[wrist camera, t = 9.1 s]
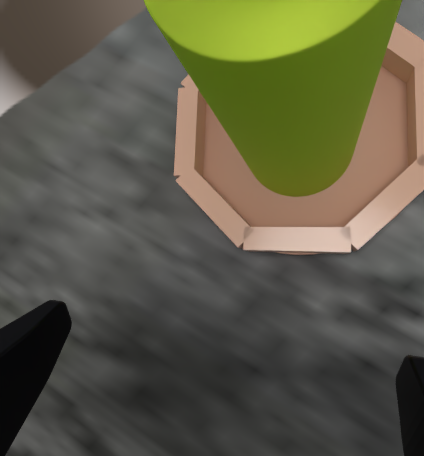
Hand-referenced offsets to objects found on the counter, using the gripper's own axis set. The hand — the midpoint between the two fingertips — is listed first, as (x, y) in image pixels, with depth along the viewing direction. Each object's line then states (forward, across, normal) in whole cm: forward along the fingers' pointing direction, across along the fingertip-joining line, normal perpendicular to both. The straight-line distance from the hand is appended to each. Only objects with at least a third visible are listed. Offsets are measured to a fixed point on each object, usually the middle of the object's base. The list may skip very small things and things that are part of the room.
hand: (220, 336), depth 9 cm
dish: (+14, -2, -1) cm, 14 cm away
